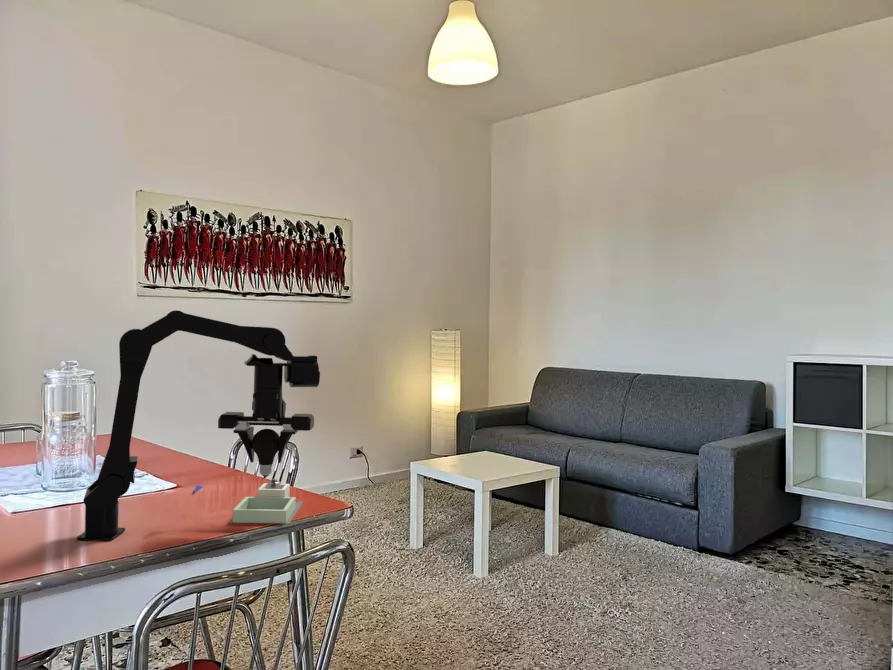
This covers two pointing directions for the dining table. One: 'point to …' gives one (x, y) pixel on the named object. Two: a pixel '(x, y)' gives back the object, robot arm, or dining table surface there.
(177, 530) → the dining table surface
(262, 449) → the light bulb
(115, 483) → the robot arm
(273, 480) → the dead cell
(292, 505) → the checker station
